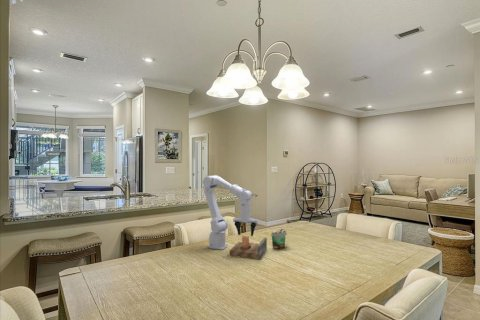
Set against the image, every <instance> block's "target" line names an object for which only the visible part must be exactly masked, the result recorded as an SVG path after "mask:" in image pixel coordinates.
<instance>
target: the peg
mask: <svg viewBox="0 0 480 320" xmlns="http://www.w3.org/2000/svg"><path fill="white" fill-rule="evenodd" d="M241 242H242V249H249V243H250V236H249V235H243V236H241Z"/></svg>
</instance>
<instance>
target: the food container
mask: <svg viewBox="0 0 480 320" xmlns="http://www.w3.org/2000/svg"><path fill="white" fill-rule="evenodd" d="M287 234H288V233H287V231H286V229H283V228H280V230H277V231H276V232H271V241H272V243H271V244H272V250H284V249H285V248H286V236H287Z"/></svg>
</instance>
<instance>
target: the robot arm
mask: <svg viewBox="0 0 480 320" xmlns="http://www.w3.org/2000/svg"><path fill="white" fill-rule="evenodd" d="M202 184H203V193H204V197H205V200H206V203H207V205H208V209H209V212H210V215H211V216H210V217H211V220H210V230H211V232H210V233H209V238H208V240H209V241H208V243H209V245H208V249H214V250H215V249H216V250H225V249H226V247H228V244H226V231H227V229H228V223H227V220H226V219H225V217H224V216H222V215H221V212H220V208H219V205H218V202H217V199H216V196H215V193H214V190H215V189H216V188H217V186H221V187H223V188H225V189H227V190H228V191H229V192H230V193H231V194H232V195H233V196H235V197H236V198H238V199H239V201H240V202H239V203H240V217H238V218H237V217H234V218H233V219H232V221H233V223H234V226H235V228H236V231H237V235H238V236H240V235H241V233H242V231H241V230H242V229H241V224H242V223H244V224H245V223H246V224H250V237H253V236H254V232H255V229H256V226H257V225H258V224H259V219H256V218H255V219H254V218H251V217H252V216H251V214H252V213H251V209H252V208H251V206H252V205H251V204H252V203H251V202H252V201H251V199H252V198H253V193H252V191H251V190H249V189H245V188H244V187H243V188H242V187H240V186H239V184H231V183H230V182H228V181H226V179H224V178H222V177H221V176H219V175H218V174H214V175H206V176H205V177H204V178H203V180H202Z"/></svg>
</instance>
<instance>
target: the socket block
mask: <svg viewBox="0 0 480 320" xmlns="http://www.w3.org/2000/svg"><path fill="white" fill-rule="evenodd" d="M267 240H268V238H267V237H263V238H262V240H261V241H259V243H254V242H249V249H242V241H238V242H237V243H236V244H235V245H233V247H232V248H230V249H229V257H237V258H243V259H245V258H246V259H255V260H261V259H262V258H263V256H264V255H265V253H266V252H267V250H268V244H267V243H268V242H267Z"/></svg>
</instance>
